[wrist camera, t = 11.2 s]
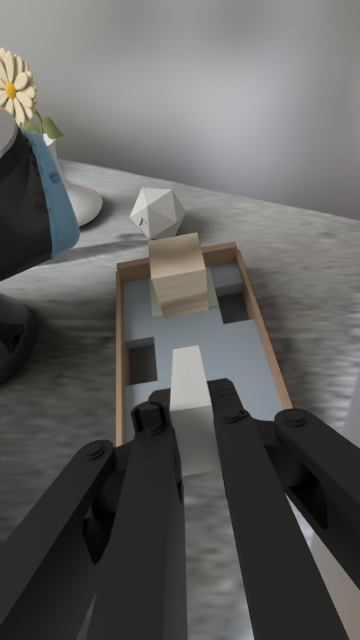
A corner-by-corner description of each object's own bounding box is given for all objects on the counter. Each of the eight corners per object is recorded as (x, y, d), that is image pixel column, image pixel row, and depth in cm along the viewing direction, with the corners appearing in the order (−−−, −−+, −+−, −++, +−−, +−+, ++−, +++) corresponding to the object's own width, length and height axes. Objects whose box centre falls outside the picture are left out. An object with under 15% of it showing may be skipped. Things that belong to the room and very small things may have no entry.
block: (208, 310, 37) (205, 269, 30) (164, 317, 37) (151, 278, 30) (201, 276, 40) (197, 232, 33) (160, 283, 40) (148, 241, 34)
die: (137, 225, 53) (111, 210, 44) (168, 188, 50) (147, 164, 41) (166, 255, 52) (146, 246, 42) (199, 219, 49) (185, 201, 40)
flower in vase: (39, 220, 56) (-69, 57, 35) (83, 190, 60) (9, 27, 39) (76, 246, 51) (-28, 71, 30) (122, 212, 54) (59, 34, 33)
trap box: (289, 429, 30) (301, 418, 26) (127, 454, 31) (111, 447, 26) (237, 267, 43) (239, 240, 39) (124, 288, 44) (112, 264, 39)
